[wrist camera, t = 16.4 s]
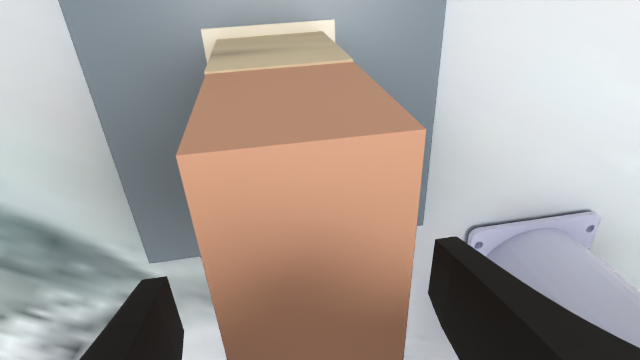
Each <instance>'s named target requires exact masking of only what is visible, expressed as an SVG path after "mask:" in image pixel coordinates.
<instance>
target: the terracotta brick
mask: <svg viewBox="0 0 640 360" xmlns="http://www.w3.org/2000/svg"><path fill="white" fill-rule="evenodd" d="M425 137H426V128H424V127H423V126H422V125H421V124H420V123H419V122H418V121H417V120H416V119H415V118H414V117H413V116H412V115H411V114H409V113H408V112H407V111H406V110H405V109H404V108H403V107H402V106H401V105H400V104H399V103H398V102H397V101H396V100H394V99H393V98H392V97H391V96H390V95H389V94H388V93H387V92H386V91H385V90H384V89H383V88H382V87H381V86H380V85H378V84H377V83H376V82H375V81H374V80H373V79H372V78H371V77H370V76H369V75H368V74H367V73H366V72H365V71H363V70H362V69H361V68H360V67H359V66H358V65H357V64H356V63H355V62H346V63H334V64H322V65H310V66H298V67H285V68H273V69H261V70H249V71H237V72H225V73H213V74H206V75H205V78H204V80H203V83H202V86H201V88H200V91H199V94H198V97H197V99H196V102H195V105H194V107H193V110H192V113H191V116H190V118H189V121H188V124H187V127H186V129H185V132H184V135H183V137H182V140H181V143H180V146H179V148H178V151H177V154H176V159H177V163H178V167H179V171H180V175H181V179H182V183H183V186H184V190H185V194H186V198H187V202H188V206H189V210H190V214H191V218H192V222H193V226H194V230H195V234H196V238H197V242H198V246H199V250H200V254H201V258H202V262H203V266H204V270H205V274H206V278H207V282H208V286H209V290H210V294H211V298H212V302H213V306H214V309H215V313H216V317H217V321H218V325H219V329H220V333H221V337H222V341H223V345H224V349H225V353H226V357H227V360H403V358H404V348H405V338H406V328H407V318H408V308H409V298H410V288H411V278H412V268H413V258H414V248H415V238H416V228H417V218H418V207H419V197H420V187H421V177H422V167H423V157H424V147H425Z"/></svg>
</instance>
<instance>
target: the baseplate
mask: <svg viewBox="0 0 640 360" xmlns="http://www.w3.org/2000/svg"><path fill="white" fill-rule="evenodd" d="M58 1H59V4H60V7H61V10H62V13H63V16H64V19H65V21H66V24H67V27H68V30H69V33H70V36H71V39H72V42H73V45H74V47H75V50H76V53H77V56H78V59H79V62H80V65H81V68H82V70H83V73H84V76H85V79H86V82H87V85H88V88H89V91H90V94H91V96H92V99H93V102H94V105H95V108H96V111H97V114H98V117H99V119H100V122H101V125H102V128H103V131H104V134H105V137H106V140H107V143H108V145H109V148H110V151H111V154H112V157H113V160H114V163H115V166H116V168H117V171H118V174H119V177H120V180H121V183H122V186H123V189H124V192H125V194H126V197H127V200H128V203H129V206H130V209H131V212H132V215H133V217H134V220H135V223H136V226H137V229H138V232H139V235H140V238H141V241H142V243H143V246H144V249H145V252H146V255H147V258H148V261H149V263H156V262H163V261H170V260H177V259H185V258H192V257H199V256H201V254H200V250H199V246H198V242H197V238H196V234H195V230H194V226H193V222H192V218H191V214H190V210H189V206H188V202H187V198H186V194H185V190H184V186H183V183H182V179H181V175H180V171H179V167H178V163H177V159H176V154H177V151H178V148H179V146H180V143H181V140H182V137H183V135H184V132H185V129H186V127H187V124H188V121H189V118H190V116H191V113H192V110H193V107H194V105H195V102H196V99H197V97H198V94H199V91H200V88H201V86H202V83H203V80H204V78H205V74H204V71H205V68H206V66H207V63H208V61H209V58H210V56H211V53H212V50H213V48H214V45H215V43H216V40H217V39H226V38H239V37H253V36H266V35H279V34H292V33H305V32H318V31H323V32H324V33H325V34H326V35H327V36H328V37H329V38H331V39H332V40H333V41H334V42H335V43H336V44H337V45H338V46H339V47H340V48H341V49H342V50H344V51H345V52H346V53H347V54H348V55H349V56H350V57H351V58H352V59H353V62H355V63H356V64H357V65H358V66H359V67H360V68H361V69H362V70H363V71H365V72H366V73H367V74H368V75H369V76H370V77H371V78H372V79H373V80H374V81H375V82H376V83H377V84H378V85H380V86H381V87H382V88H383V89H384V90H385V91H386V92H387V93H388V94H389V95H390V96H391V97H392V98H393V99H394V100H396V101H397V102H398V103H399V104H400V105H401V106H402V107H403V108H404V109H405V110H406V111H407V112H408V113H409V114H411V115H412V116H413V117H414V118H415V119H416V120H417V121H418V122H419V123H420V124H421V125H422V126H423V127H424V128H426V137H425V147H424V157H423V167H422V177H421V187H420V197H419V207H418V218H417V226H420V225H423V219H424V210H425V200H426V191H427V181H428V171H429V162H430V152H431V143H432V133H433V124H434V114H435V105H436V95H437V86H438V76H439V67H440V57H441V47H442V38H443V28H444V19H445V9H446V0H58Z"/></svg>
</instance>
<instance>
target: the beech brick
mask: <svg viewBox="0 0 640 360" xmlns="http://www.w3.org/2000/svg"><path fill="white" fill-rule="evenodd" d="M346 62H353V59H352V58H351V57H350V56H349V55H348V54H347V53H346V52H345V51H344V50H342V49H341V48H340V47H339V46H338V45H337V44H336V43H335V42H334V41H333V40H332V39H331V38H329V37H328V36H327V35H326V34H325V33H324V32H323V31H318V32H305V33H292V34H279V35H266V36H253V37H239V38H226V39H217V40H216V43H215V45H214V48H213V50H212V53H211V56H210V58H209V61H208V63H207V66H206V68H205V71H204V74H205V75H206V74H213V73H225V72H237V71H249V70H261V69H273V68H285V67H298V66H310V65H322V64H334V63H346Z"/></svg>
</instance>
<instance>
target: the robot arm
mask: <svg viewBox="0 0 640 360" xmlns="http://www.w3.org/2000/svg"><path fill="white" fill-rule="evenodd" d="M599 222H600V216H599V215H598V214H597V213H595V212H592V211H591V212H584V213H577V214H570V215H563V216H556V217H549V218H542V219H535V220H528V221H521V222H514V223H507V224H500V225H493V226H486V227H479V228H475V229H474V230H472V231H471V232H470V234H469V237H468V243H465V242H464V241H462V240H461V239H459V238H458V237H449V238H442V239H435V245H434V253H433V260H432V268H431V275H430V283H429V291H428V294H429V297H430V299H431V302H432V305H433V307H434V310H435V312H436V315H437V317H438V319H439V322H440V324H441V327H442V329H443V330H444V332H445V334H446V336H447V338H448V340H449V342H450V343H451V345H452V347H453V349H454V351H455V353H456V354H457V356H458V358H459V360H640V293H639V292H638V291H637V290H636V289H634V288H633V287H632V286H631V285H630V284H628V283H627V282H626V281H625V280H624V279H623V278H621V277H620V276H619V275H618V274H617V273H615V272H614V271H613V270H612V269H611V268H609V267H608V266H607V265H606V264H605V263H604V262H602V261H601V260H600V259H599V258H598V257H596V256H595V255H594V254H593V253H592V252H591V251H589V248H590V245H591V243H592V240H593V238H594V235H595V232H596V230H597V227H598V224H599ZM477 242H478V243H477ZM476 243H477V244H476ZM183 338H184V329H183V326H182V323H181V320H180V317H179V313H178V310H177V307H176V304H175V301H174V298H173V294H172V291H171V288H170V285H169V282H168V279H167V276H166V277H159V278H152V279H145V280H142V281H141V282H140V283H139V284H138V285H137V287H136V288H135V289H134V291H133V292H132V293H131V294H130V296H129V297H128V298H127V300H126V301H125V302H124V304H123V305H122V306H121V308H120V309H119V310H118V312H117V313H116V314H115V316H114V317H113V318H112V319H111V321H110V322H109V323H108V325H107V326H106V327H105V328H104V330H103V331H102V332H101V333H100V335H99V336H98V337H97V338H96V340H95V341H94V342H93V343H92V345H91V346H90V347H89V348H88V350H87V351H86V352H85V353H84V355H83V356H82V357H81V358H80V360H182V351H183Z"/></svg>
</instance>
